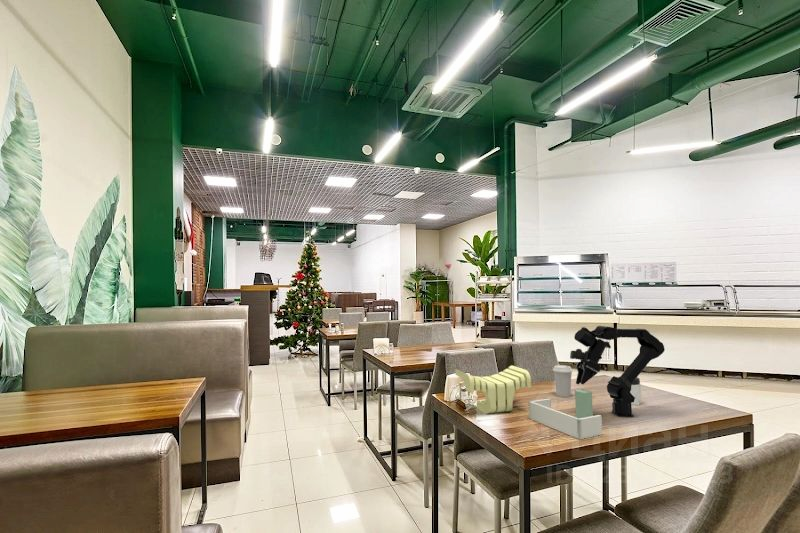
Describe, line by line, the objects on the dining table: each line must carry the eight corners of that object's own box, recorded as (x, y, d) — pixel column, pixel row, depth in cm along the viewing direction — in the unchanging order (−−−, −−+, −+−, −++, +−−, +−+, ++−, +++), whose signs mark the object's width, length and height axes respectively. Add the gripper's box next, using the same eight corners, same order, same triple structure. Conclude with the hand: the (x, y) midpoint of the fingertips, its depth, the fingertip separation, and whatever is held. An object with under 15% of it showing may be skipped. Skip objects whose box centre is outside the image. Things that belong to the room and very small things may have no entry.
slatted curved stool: (470, 417, 164) (470, 375, 165) (456, 406, 179) (455, 368, 180) (531, 411, 171) (530, 371, 173) (512, 401, 187) (511, 365, 188)
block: (584, 419, 160) (582, 389, 161) (593, 422, 155) (591, 391, 156) (576, 421, 158) (574, 390, 159) (585, 424, 154) (583, 392, 155)
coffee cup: (564, 399, 190) (562, 368, 192) (549, 394, 199) (548, 365, 200) (577, 397, 194) (576, 367, 195) (563, 392, 203) (562, 364, 204)
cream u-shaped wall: (549, 414, 166) (549, 398, 167) (602, 434, 142) (601, 415, 143) (529, 418, 162) (528, 401, 162) (580, 439, 138) (579, 419, 138)
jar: (645, 404, 180) (644, 379, 181) (631, 406, 178) (630, 380, 179) (630, 399, 189) (629, 375, 190) (616, 400, 187) (615, 376, 188)
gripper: (572, 344, 177) (557, 374, 175) (581, 340, 160) (565, 373, 157) (596, 357, 173) (581, 387, 171) (608, 354, 156) (591, 388, 154)
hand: (579, 383), depth 163 cm, fingers open, 9 cm apart
